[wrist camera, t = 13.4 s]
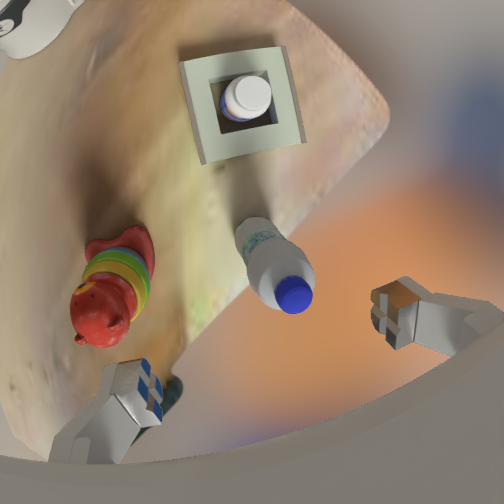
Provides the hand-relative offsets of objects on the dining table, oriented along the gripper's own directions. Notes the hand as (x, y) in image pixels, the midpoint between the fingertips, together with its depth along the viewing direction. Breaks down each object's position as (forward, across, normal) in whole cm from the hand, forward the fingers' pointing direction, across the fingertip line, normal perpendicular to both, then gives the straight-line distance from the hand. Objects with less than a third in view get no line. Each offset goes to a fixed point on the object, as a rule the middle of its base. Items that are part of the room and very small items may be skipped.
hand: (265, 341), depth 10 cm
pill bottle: (+34, -7, -11) cm, 36 cm away
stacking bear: (+34, +15, +7) cm, 38 cm away
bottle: (+34, -5, +8) cm, 35 cm away
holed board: (+33, -7, -11) cm, 36 cm away
